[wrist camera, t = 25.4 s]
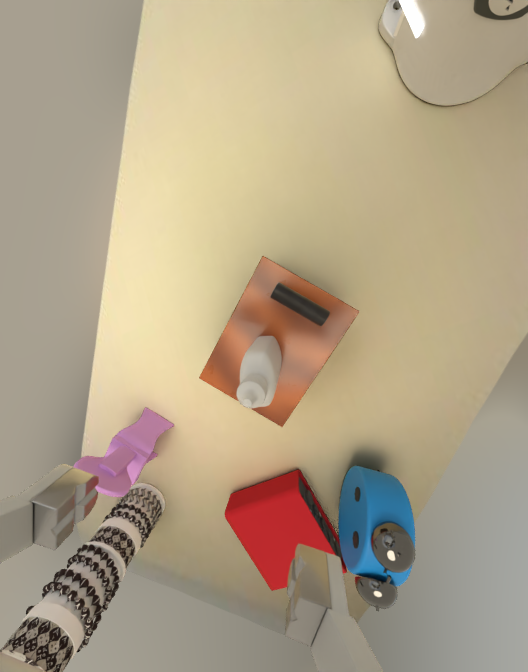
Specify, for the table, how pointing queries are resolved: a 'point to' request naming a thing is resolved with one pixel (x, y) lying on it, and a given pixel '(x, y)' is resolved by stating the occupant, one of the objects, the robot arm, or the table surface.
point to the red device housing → (280, 525)
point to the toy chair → (126, 455)
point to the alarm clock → (376, 534)
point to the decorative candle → (86, 584)
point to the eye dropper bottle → (259, 373)
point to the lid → (280, 335)
